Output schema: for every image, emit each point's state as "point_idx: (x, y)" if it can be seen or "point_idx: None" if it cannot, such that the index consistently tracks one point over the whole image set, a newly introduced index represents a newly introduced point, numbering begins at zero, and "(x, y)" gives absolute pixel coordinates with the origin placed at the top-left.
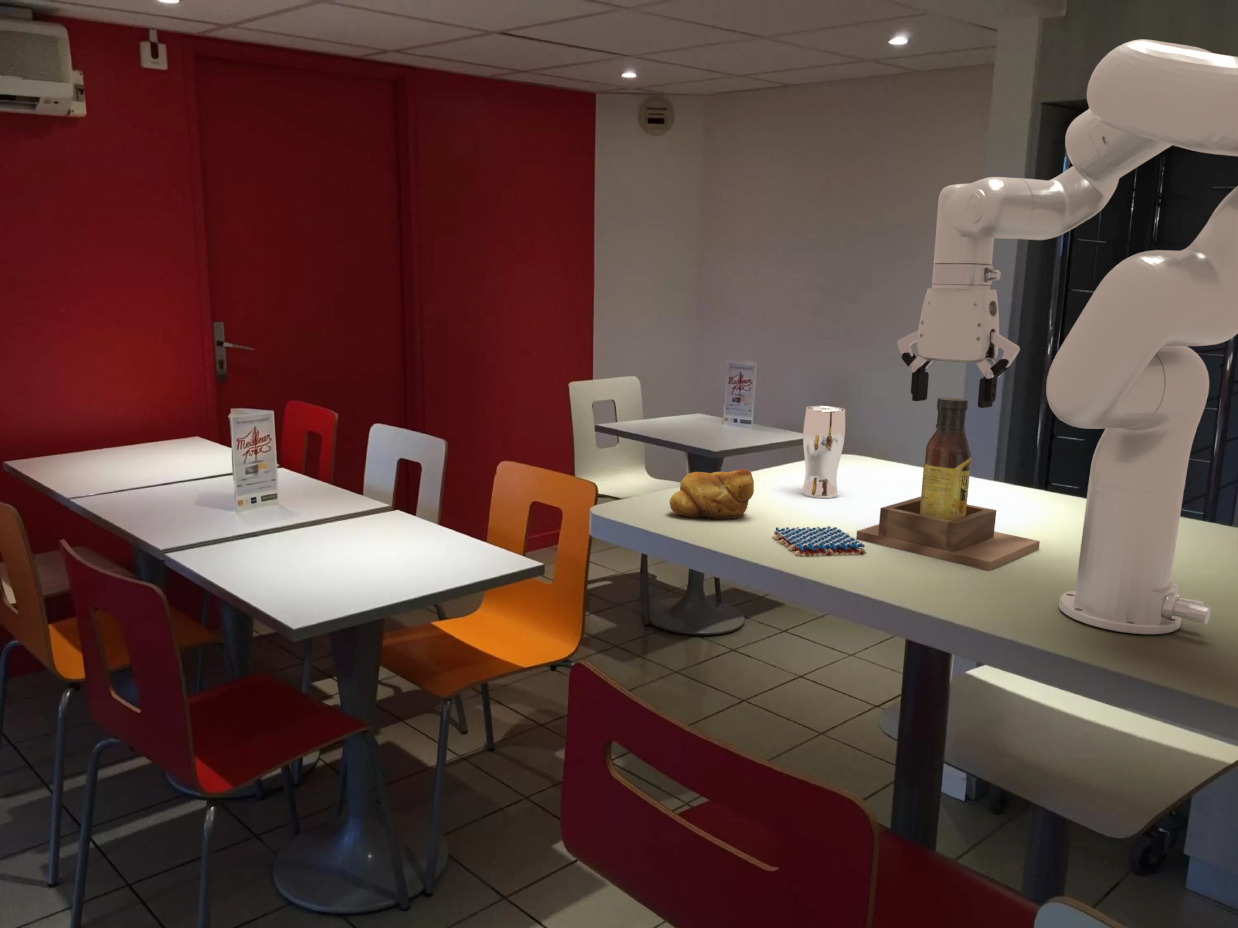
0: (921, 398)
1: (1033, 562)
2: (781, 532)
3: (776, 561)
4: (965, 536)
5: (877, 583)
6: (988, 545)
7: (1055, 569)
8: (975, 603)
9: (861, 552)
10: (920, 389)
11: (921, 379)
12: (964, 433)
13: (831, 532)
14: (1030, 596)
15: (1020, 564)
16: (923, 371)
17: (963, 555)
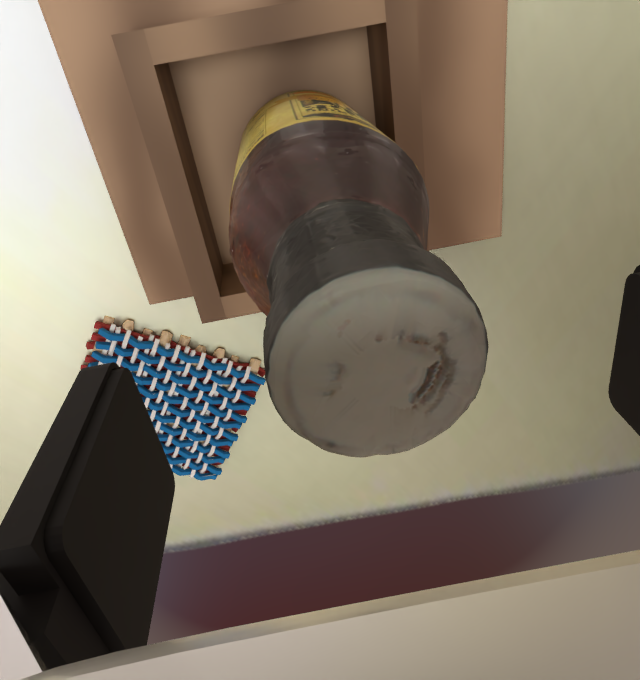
0: (154, 440)
1: (539, 55)
2: None
3: (219, 512)
4: None
5: (397, 456)
6: (428, 100)
7: (601, 64)
8: (553, 403)
9: (261, 375)
10: (151, 514)
11: (134, 586)
12: (423, 246)
13: (142, 369)
14: (612, 299)
15: (521, 109)
16: (72, 626)
17: (436, 248)
